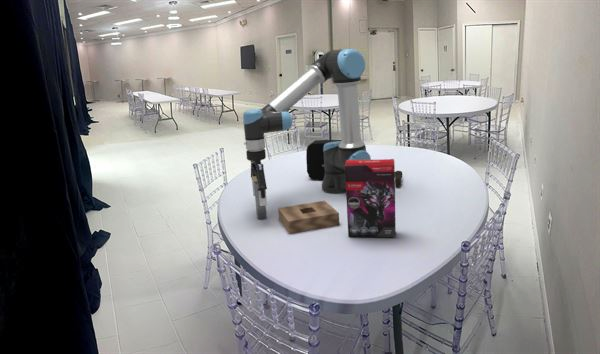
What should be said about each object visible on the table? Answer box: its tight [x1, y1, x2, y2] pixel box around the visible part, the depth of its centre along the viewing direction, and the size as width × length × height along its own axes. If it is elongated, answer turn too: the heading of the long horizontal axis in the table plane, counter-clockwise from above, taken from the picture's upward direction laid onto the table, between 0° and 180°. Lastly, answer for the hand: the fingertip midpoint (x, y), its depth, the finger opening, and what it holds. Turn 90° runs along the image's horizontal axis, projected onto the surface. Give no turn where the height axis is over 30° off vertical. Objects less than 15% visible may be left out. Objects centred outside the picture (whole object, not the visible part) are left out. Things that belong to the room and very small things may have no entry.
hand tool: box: [395, 170, 404, 189], centre depth 216 cm, size 19×4×5 cm, turn 164°
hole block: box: [277, 200, 340, 235], centre depth 174 cm, size 20×16×5 cm
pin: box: [251, 175, 268, 221], centre depth 180 cm, size 5×5×18 cm
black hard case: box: [305, 139, 367, 182], centre depth 228 cm, size 30×12×20 cm, turn 72°
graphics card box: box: [345, 158, 397, 238], centre depth 156 cm, size 17×7×27 cm, turn 79°
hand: (259, 200), depth 180 cm, fingers open, 13 cm apart
